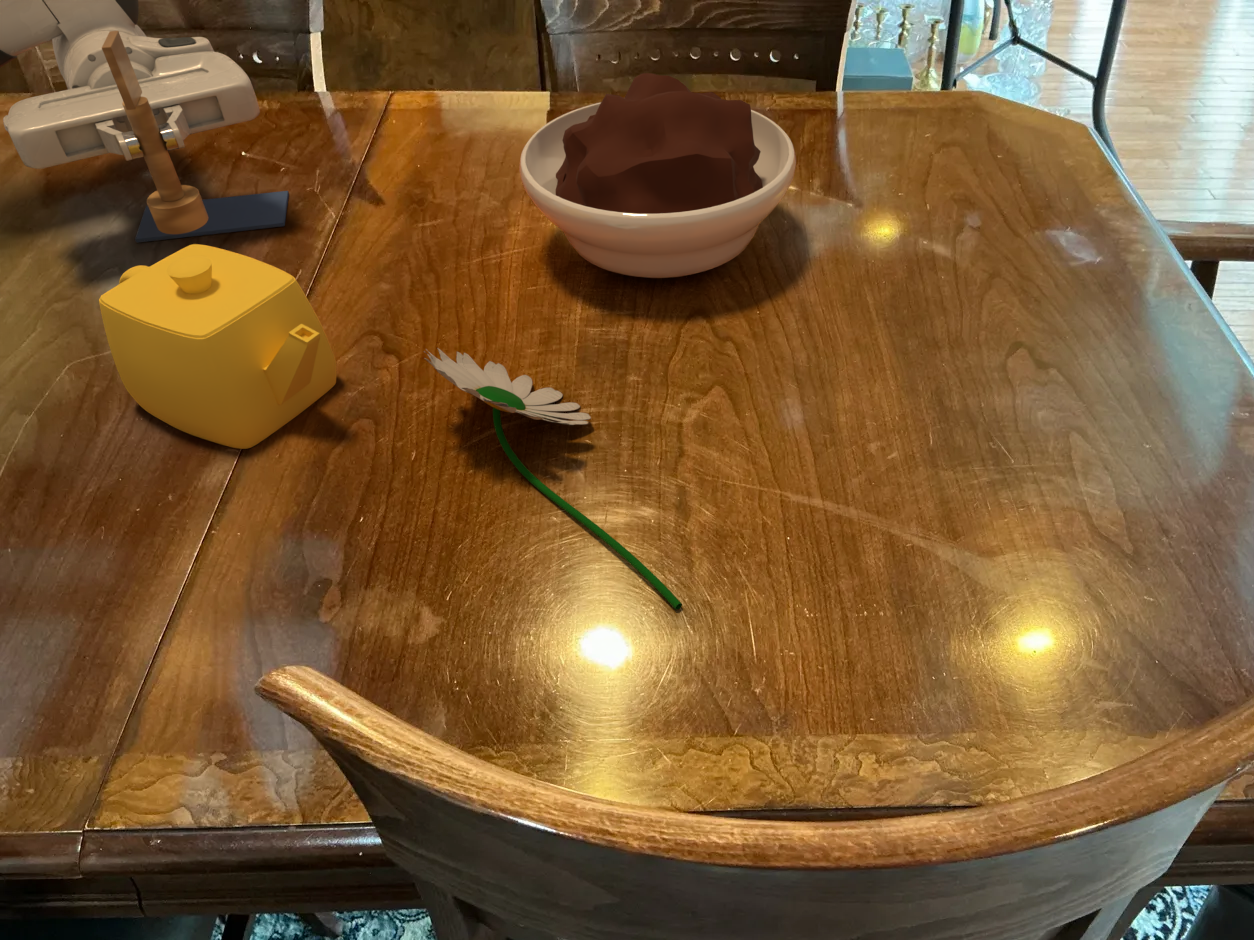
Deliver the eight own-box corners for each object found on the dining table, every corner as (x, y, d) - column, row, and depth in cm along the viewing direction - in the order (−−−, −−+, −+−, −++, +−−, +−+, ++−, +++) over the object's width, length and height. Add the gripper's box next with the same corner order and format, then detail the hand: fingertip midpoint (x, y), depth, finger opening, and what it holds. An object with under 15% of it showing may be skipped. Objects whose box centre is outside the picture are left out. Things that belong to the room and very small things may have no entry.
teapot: (394, 391, 87) (358, 261, 79) (282, 480, 80) (230, 346, 71) (218, 326, 94) (169, 201, 86) (100, 402, 87) (33, 272, 78)
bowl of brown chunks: (542, 332, 93) (518, 165, 83) (523, 198, 111) (501, 46, 100) (821, 299, 97) (832, 135, 86) (760, 174, 114) (763, 25, 103)
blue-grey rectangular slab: (136, 242, 105) (134, 239, 105) (147, 209, 110) (145, 205, 110) (284, 226, 107) (283, 222, 107) (289, 194, 112) (288, 190, 112)
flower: (630, 576, 64) (399, 311, 78) (591, 644, 66) (373, 373, 81) (764, 569, 74) (537, 335, 89) (726, 628, 76) (510, 390, 91)
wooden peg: (153, 237, 95) (75, 51, 84) (161, 213, 98) (86, 31, 87) (205, 231, 96) (134, 46, 85) (211, 208, 99) (143, 26, 88)
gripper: (-17, 80, 94) (1, 138, 85) (222, 32, 101) (260, 81, 93) (17, 150, 98) (38, 212, 90) (244, 99, 106) (282, 152, 97)
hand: (153, 145), depth 91 cm, fingers closed on wooden peg, 2 cm apart
